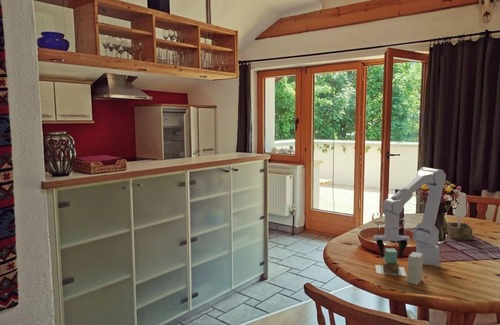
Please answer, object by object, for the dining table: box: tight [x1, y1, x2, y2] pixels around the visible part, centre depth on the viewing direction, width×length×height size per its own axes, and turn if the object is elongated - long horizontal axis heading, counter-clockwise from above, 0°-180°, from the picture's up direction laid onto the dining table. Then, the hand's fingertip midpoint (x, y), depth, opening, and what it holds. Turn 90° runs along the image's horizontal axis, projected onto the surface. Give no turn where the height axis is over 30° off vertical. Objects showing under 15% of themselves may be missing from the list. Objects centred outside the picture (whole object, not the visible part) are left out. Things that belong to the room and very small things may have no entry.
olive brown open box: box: [445, 221, 473, 241], centre depth 210 cm, size 11×11×6 cm
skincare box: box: [406, 251, 424, 286], centre depth 154 cm, size 6×4×12 cm
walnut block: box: [382, 257, 400, 274], centre depth 165 cm, size 6×6×4 cm
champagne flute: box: [452, 192, 468, 228], centre depth 209 cm, size 7×7×24 cm
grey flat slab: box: [374, 264, 407, 277], centre depth 166 cm, size 12×9×1 cm
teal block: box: [383, 247, 398, 263], centre depth 165 cm, size 4×4×5 cm
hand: (390, 256), depth 165 cm, fingers open, 7 cm apart
